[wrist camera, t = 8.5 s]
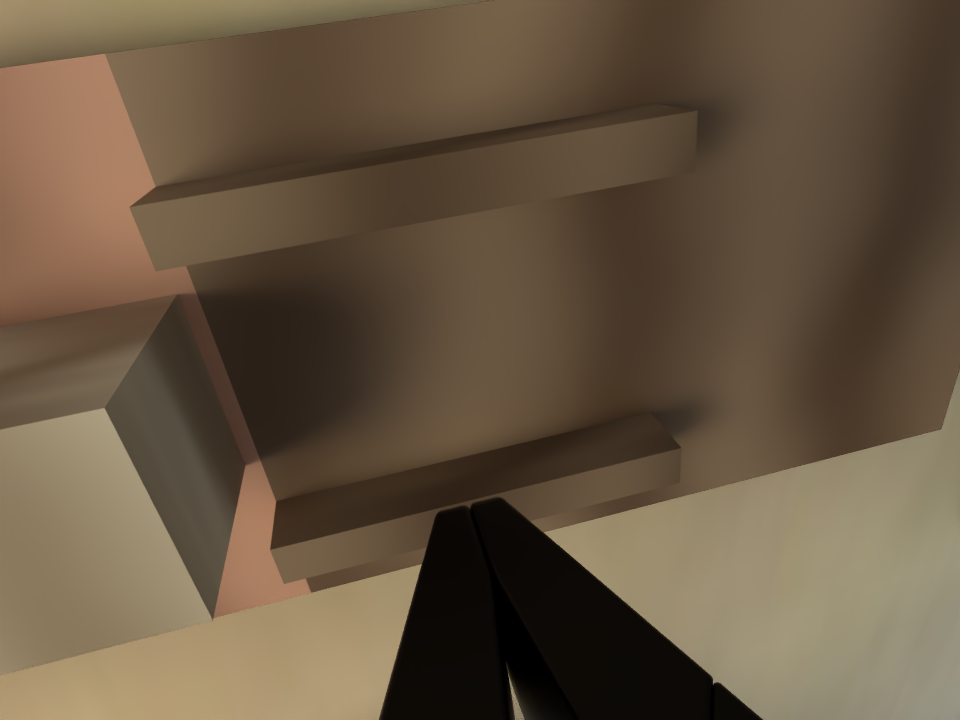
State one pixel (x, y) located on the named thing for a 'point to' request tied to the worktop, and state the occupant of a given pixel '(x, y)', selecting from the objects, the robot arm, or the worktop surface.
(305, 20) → the worktop surface
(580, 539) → the worktop surface
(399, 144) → the lane deck
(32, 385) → the maple block
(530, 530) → the robot arm
